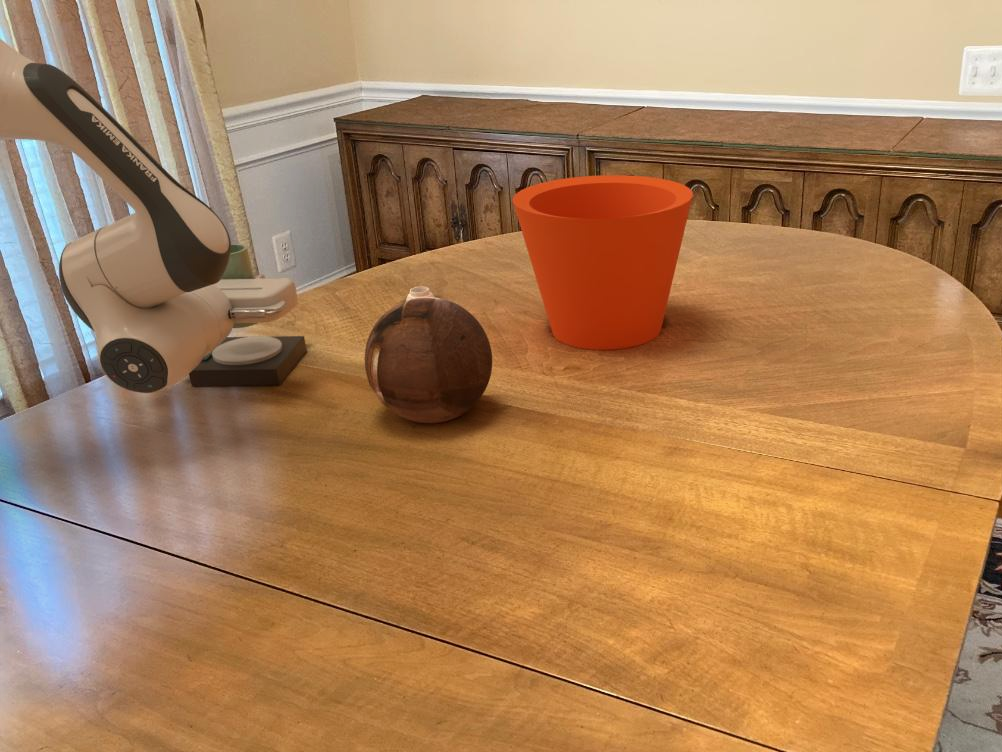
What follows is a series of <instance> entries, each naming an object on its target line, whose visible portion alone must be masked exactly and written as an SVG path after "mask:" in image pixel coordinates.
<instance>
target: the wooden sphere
mask: <svg viewBox="0 0 1002 752" xmlns="http://www.w3.org/2000/svg"><path fill="white" fill-rule="evenodd" d="M364 368H365V369H364V370H365V374H366V378H367V381H368V384H369V386H370V388H371V390H372V391H373V393H374V394H375V396H376V397H377V399H378V400H379V401H380V403H381V404H383V406H384V407H386V408H387V409H388V410H389V411H391V412H392V413H394V414H395V415H396V416H399V417H400V418H402V419H405V420H408V421H411V422H414V423H420V424H438V423H444V422H448V421H451V420H454V419H456V418H459V417H460V416H462V415H464V414H465V413H466V412H467V413H468V411H470V410H471V409H472V408H473V407H474V406H475V405H476V404H477V403H478V402H479V401H480V399H481V398H482V397H483V395H484V393H485V391H486V389H487V387H488V385H489V383H490V380H491V377H492V372H493V371H492V370H493V351H492V346H491V343H490V340H489V337H488V335H487V333H486V331H485V329H484V327H483V326H482V325H481V323H480V322H479V321H478V319H477V318H476V317H475V316H474V315H473V314H472V313H471V312H469V311H468V310H467V309H466V308H464V307H463V306H461V305H459V304H457V303H455V302H453V301H451V300H448V299H444V298H440V297H436V296H434V297H420V298H414V299H410V300H407V301H406V300H404V301H402V302H399V303H398V304H396V305H394V306H393V307H391V308H390V309H388V310H387V311H386V312H384V313H383V314H382V315H381V316H380V318H379V319H378V320H377V321H376V323H375V324H374V326H373V327H372V329H371V331H370V333H369V335H368V338H367V341H366V344H365V350H364Z"/></svg>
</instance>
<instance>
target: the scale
mask: <svg viewBox="0 0 1002 752" xmlns="http://www.w3.org/2000/svg"><path fill="white" fill-rule="evenodd" d="M307 351H308V350H307V345H306V339H305V336H304V335H284V336H283V335H282V336H274V335H273V336H265V335H264V336H262V335H257V336H255V335H254V336H228V337H227V338H226V339H225V340H224V341H223V342H222V343H221V344H220V345H218V346H217V347H216V348H215V349H214V350H213V351H212V352H211V353H210V354H209V355H207V356H206V357H204V358H203V359H202V361H201V362H200V363H199V365H198V366H197V367H196V368H195V369H194V370H192V371H191V372H190V373H189V374H188V377H189V380H190V384H191V387H254V386H255V387H260V386H261V387H265V386H266V387H267V386H269V387H271V386H280V385H281V384H282V383H283V381H284V380H285V379H286V378H287V377H288V375H290V373H291V372H292V370H293V369H295V367H296V365H298V363H299V362H300V360H302V359H303V357H304V356H305V354H306V353H307Z"/></svg>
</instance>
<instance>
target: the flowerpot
mask: <svg viewBox="0 0 1002 752" xmlns="http://www.w3.org/2000/svg"><path fill="white" fill-rule="evenodd" d="M693 194H694V192H693V190H691V188H689V186H686V185H685V184H683V183H680V182H676V181H674V180H669V179H665V178H659V177H654V176H653V177H652V176H643V175H626V174H625V175H623V174H621V175H620V174H618V175H617V174H606V175H605V174H603V175H584V176H575V177H566V178H559V179H553V180H549V181H545V182H540V183H537V184H534V185H530V186H528V187H525V188H523V189H521V190H519V191H518V192H516V193H515V194H514V195H513V197H512V204H513V207H514V210H515V214H516V217H517V220H518V223H519V224H518V225H519V226H520V230H521V233H522V237H523V240H524V243H525V247H526V250H527V252H528V256H529V261H530V263H531V266H532V269H533V273H534V276H535V280H536V283H537V286H538V288H539V292H540V296H541V300H542V303H543V306H544V309H545V312H546V315H547V320H548V322H549V327H550V329H551V332H552V335H553V337H554V338H555V339H556V340H557V341H558V342H560V343H562V344H564V345H566V346H570V347H574V348H577V349H582V350H583V349H584V350H592V351H613V350H622V349H629V348H634V347H636V346H638V347H639V346H641V345H644V344H647V343H649V342H650V341H653V340H654V339H656V338H657V337H658V336H659V335H660V333H661V332H662V327H663V322H664V319H665V314H666V311H667V306H668V301H669V299H670V298H669V297H670V293H671V289H672V285H673V281H674V276H675V272H676V268H677V264H678V260H679V254H680V251H681V247H682V243H683V238H684V235H685V230H686V226H687V221H688V217H689V213H690V209H691V205H692V201H693V197H694V196H693Z"/></svg>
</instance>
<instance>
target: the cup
mask: <svg viewBox="0 0 1002 752" xmlns="http://www.w3.org/2000/svg"><path fill="white" fill-rule="evenodd" d="M252 275H254V273H253V268H252V264H251V258H250V253H249V249H248V245H246V244H243V243H231V251H230V258H229V262H228V265H227V268H226V270H225V272H224V274H223V276H222V278H221V279H249V277H251V276H252ZM257 324H258V323H234V325H233V329H242V328H243V329H244V328H247V327H252V326H255V325H257Z"/></svg>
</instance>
